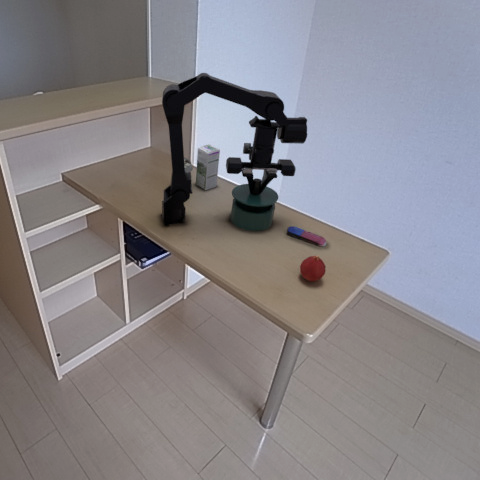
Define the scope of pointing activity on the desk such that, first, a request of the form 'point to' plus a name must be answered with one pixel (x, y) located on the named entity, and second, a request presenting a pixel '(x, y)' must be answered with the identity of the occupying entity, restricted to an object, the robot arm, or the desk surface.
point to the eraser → (306, 236)
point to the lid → (255, 194)
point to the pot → (251, 216)
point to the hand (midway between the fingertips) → (255, 193)
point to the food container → (187, 165)
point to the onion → (312, 268)
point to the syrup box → (207, 167)
